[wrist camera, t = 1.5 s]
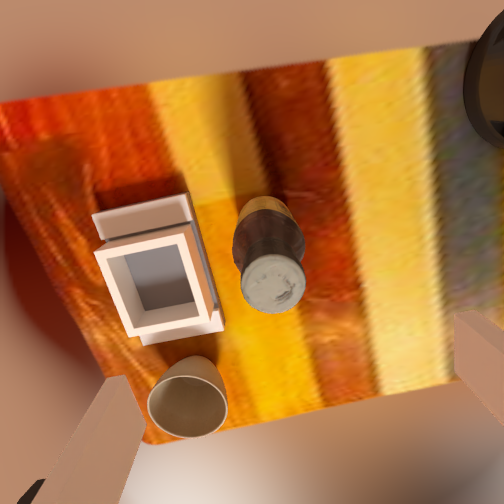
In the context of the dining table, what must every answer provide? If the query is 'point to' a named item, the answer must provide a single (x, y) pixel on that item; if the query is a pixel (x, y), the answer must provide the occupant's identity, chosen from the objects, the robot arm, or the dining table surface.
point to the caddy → (158, 269)
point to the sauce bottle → (269, 255)
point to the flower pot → (189, 399)
